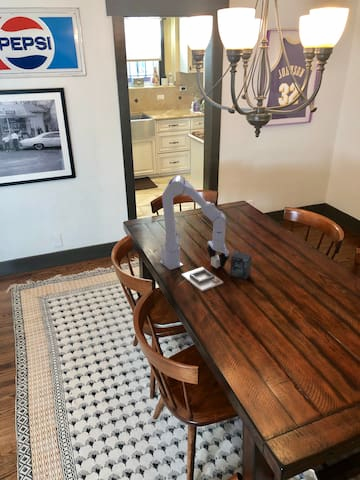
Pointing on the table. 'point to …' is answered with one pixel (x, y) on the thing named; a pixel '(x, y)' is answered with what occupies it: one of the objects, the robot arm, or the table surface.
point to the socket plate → (202, 279)
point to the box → (240, 265)
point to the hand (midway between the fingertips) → (217, 263)
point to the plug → (215, 261)
